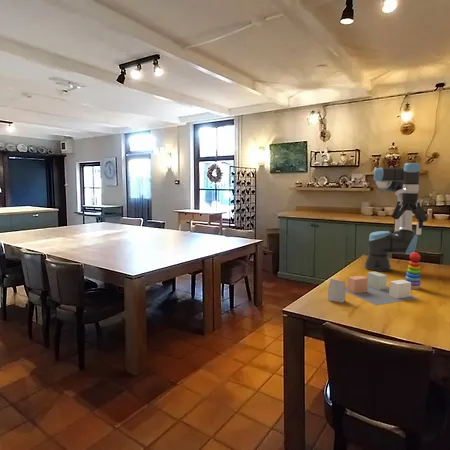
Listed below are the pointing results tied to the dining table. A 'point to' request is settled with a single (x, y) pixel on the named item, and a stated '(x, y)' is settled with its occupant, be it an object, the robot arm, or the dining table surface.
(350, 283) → the terracotta brick
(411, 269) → the stacking toy
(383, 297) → the charcoal mat
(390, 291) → the cream brick
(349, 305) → the dining table surface
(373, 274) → the sage brick
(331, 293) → the ivan-chai tea box
